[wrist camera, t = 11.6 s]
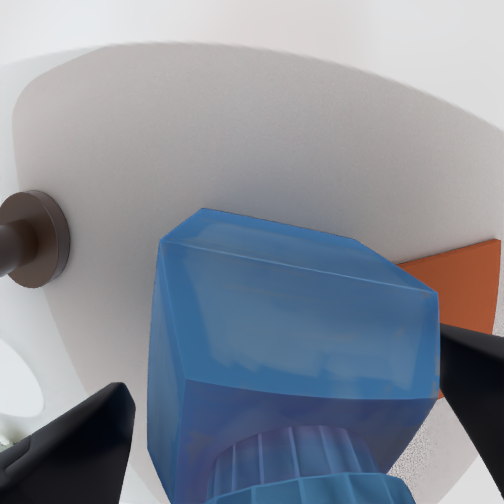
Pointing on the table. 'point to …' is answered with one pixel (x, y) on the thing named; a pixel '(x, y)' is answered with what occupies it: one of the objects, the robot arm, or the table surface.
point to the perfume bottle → (284, 365)
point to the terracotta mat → (463, 284)
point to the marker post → (32, 239)
